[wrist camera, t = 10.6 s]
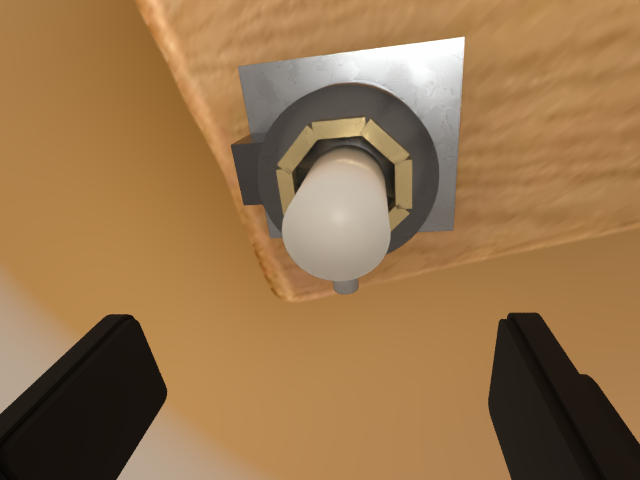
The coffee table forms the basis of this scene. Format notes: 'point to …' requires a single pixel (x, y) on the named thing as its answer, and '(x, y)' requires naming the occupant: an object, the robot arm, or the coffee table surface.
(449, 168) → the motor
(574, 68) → the coffee table surface
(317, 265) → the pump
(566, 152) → the coffee table surface
